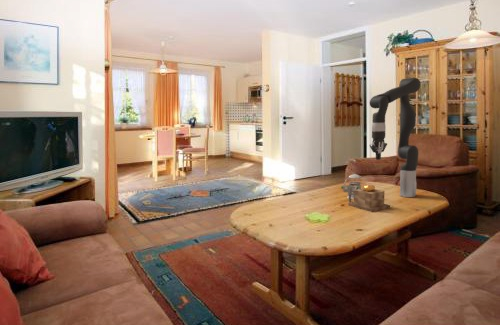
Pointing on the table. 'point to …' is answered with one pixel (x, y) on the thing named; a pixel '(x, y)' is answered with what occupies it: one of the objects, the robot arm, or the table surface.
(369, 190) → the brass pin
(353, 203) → the hitch block
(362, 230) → the table surface
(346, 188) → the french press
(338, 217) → the table surface
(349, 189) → the mechanical component
